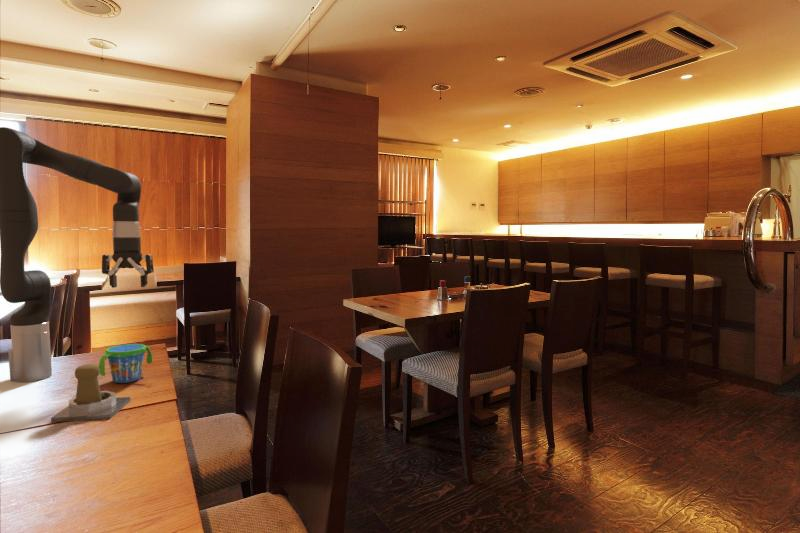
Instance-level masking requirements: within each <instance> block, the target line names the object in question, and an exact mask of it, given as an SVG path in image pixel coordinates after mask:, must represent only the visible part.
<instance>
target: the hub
mask: <svg viewBox="0 0 800 533" xmlns="http://www.w3.org/2000/svg"><path fill="white" fill-rule="evenodd" d="M100 392H101V397H102V401H98V402H93V403H84V404H79V403H76V395H75V396H73V397H72V398H70V399H68V405H67V406H66V407H65V408H64V409H62V410H60V411H59V412H57V413H56V414H54V415H52V417H50V422H51V423H58V422H59V423H60V422H61V423H62V422H75V421H91V420H92V421H93V420H95V421H96V420H110V419H112V418H113V417H114V416H116V414H118V413H119V411H121V410H122V409H123V408H124V407H125V406H127V404H128V403H130V402H131V401H132V400H131V397H130V396H126V397H125V396H124V397H117V394H116V392H115V391H110V390H100Z"/></svg>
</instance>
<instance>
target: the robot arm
mask: <svg viewBox="0 0 800 533" xmlns="http://www.w3.org/2000/svg"><path fill="white" fill-rule="evenodd" d="M24 164H29V165H34V166H38V167H39V166H41V167H44V168H48V169H50V170H54V171H56V172H59V173H61V174H63V175H66V176H68V177H70V178H73V179H74V180H78V181H81V182H84V183H88V184H89V185H90V184H91V185H94V186H98V187H100V188H102V189H104V190H108V191H110V192H112V193H116V194H117V197H116V202H115V203H114V204H113V206H112V221H113V222H112V232H111V233H112V247H113V248H112V249H113V250H112V251H113V254H110V253H109V254H108V253H106V254H102V255H101V273H102V274H103V275H107V276H108V277H109V278H108V281H109V286H111V288H112V289H113V288H117V287H118V278H117V277H118V276H117V275H116V274H117V273H118V271H120V270H121V269H135V270H136V271H137V272H138V273H139V274H140V287H141V288H145V287H146V286H147V285H148V275H149V274H152V273H154V271H155V270H154V260H153V259H154V258H153V255H152V253H151V254H150V253H149V254H142V243H141V242H142V239H141V226H140V225H141V224H140V215H139V214H140V213H139V212H140V211H139V206H140V202H141V201H140V200H141V196H142V184H141V181H140V179H139V177H138V176H137V175H135V173H131V172H128V171H124V170H120V169H117V168H114V167H111V166H107V165H105V164H103V163H101V162H98V161H95V160H92V159H90V158H88V157H87V158H86V157H83V156H80V155H77V154H73V153H69V152H66V151H62V150H59V149H56V148H54V147H51V146H50V145H47V144H45V143H43V142H41V141H40V140H37V139H36V138H34V137H32V136H30V135H28V134H27V133H25V132H23V131H20V130H19V131H18V130H16V129H14V128H13V129H12V128H10V127H5V126H3V127H0V292H1V295H2V297H3V299H4V300H5V301H6V302H8V303H11V304H18V303H24V305H23V306H22V308H20V309H19V310H18V311H16V312H15V313H13V314H12V315H11V316H10V318H9V323H10V337H11V339H10V340H11V349H9V350H8V366H9V378H10V382H17V383H26V382H27V383H28V382H35V381H40V380H44V379H47V378H49V377H51V376H52V375H53V370H52V354H51V353H52V352H51V337H50V336H51V335H50V334H51V333H50V319H49V317H50V315H51V311H52V284H51V280H50V277H49V276H48V275H47V273H46V272H44V271H43V270H39V269H37V270H34V269H33V270H25V257H26V253H27V251H28V248H29V247H30V245H31V243H32V242H33V240H34V239H35V236H36V235H37V232H38V230H39V215H38V207H37V203H36V201H35V198H34V196H33V194H32V193H31V190H30V189H29V186H28V184H27V182H26V179H25V175H24ZM112 260H113V262H115V263H114V264H113V266H112V267H110V265H111V262H112ZM142 260H143V261H144V262H145V266H146V268H145V267H144V265H143V264H142V263H141V262H142ZM110 268H111V269H110Z"/></svg>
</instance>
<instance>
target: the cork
mask: <svg viewBox="0 0 800 533" xmlns="http://www.w3.org/2000/svg"><path fill="white" fill-rule="evenodd" d="M99 375H100V369H99V364H95V363H86V364H83V365H80V366H78V367H76V369H75V370H74V376H75V378H76V379H77V386H76V392H75V393H76V395H75V396H76V403H79V404H84V403H93V402H98V401H102V397H101V392H100V391H101V388H100V383H99V378H98V376H99Z"/></svg>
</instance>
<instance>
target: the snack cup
mask: <svg viewBox="0 0 800 533" xmlns="http://www.w3.org/2000/svg"><path fill="white" fill-rule="evenodd" d="M146 352H147V354H146ZM145 354H146V355H147V356H146V363H147V364H150V365H151V364H152V363H153V353H152V351H151V348H150V347H149V346H147V345H145V344H142V343H127V344H118V345H114V346H110V347H108V348H106V349H105V353H104V354H103V355H102V356H101V357H100V360H99V363H98V367H99V369H100V373H99V375H100V376H102V377H105V376H106V371H105V370H106V369H105V367H106V365H105V364H106V362H105V361H106V360H107V359H108V363H109V364H108V365H109V369H110V374H111V379H112V381H113V382H114V383H116V384H126V383H132V382H135V381H137V380H141V377H142V374H143V367H144V356H145Z"/></svg>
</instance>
